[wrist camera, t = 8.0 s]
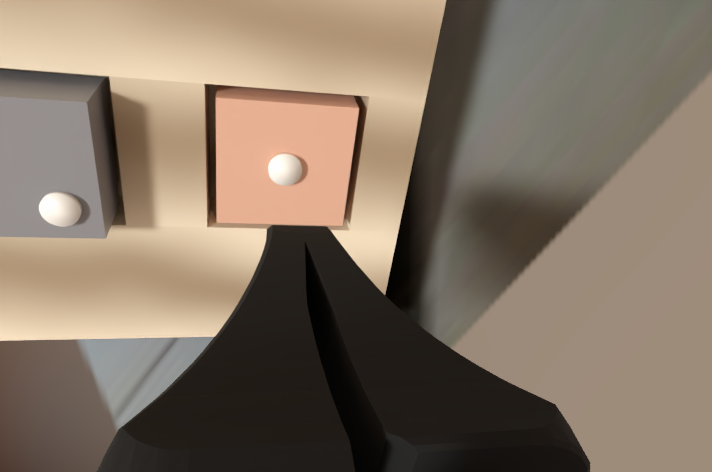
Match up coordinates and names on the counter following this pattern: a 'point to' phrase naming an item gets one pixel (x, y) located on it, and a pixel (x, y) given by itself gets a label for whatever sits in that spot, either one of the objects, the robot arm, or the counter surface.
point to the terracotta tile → (283, 155)
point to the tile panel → (206, 148)
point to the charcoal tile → (55, 156)
